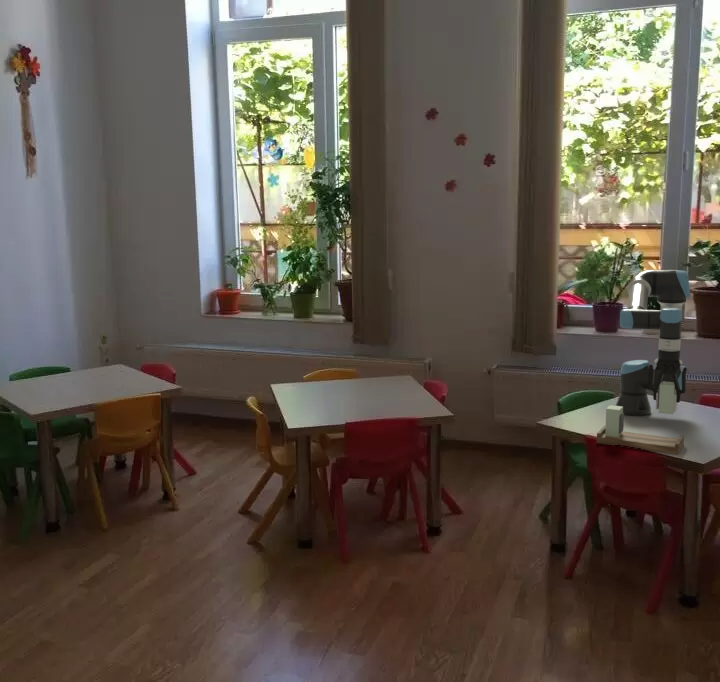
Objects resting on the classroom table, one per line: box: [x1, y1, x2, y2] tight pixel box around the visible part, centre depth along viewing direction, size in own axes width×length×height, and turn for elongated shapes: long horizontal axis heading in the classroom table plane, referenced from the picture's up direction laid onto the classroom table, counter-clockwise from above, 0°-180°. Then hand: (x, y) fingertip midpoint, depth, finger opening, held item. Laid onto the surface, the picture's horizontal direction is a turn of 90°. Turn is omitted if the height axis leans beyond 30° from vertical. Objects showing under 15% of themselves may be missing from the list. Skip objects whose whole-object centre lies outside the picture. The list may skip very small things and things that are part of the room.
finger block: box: [656, 381, 676, 415], centre depth 285 cm, size 6×6×11 cm
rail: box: [596, 425, 685, 455], centre depth 293 cm, size 12×30×4 cm, turn 58°
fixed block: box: [605, 404, 625, 437], centre depth 297 cm, size 6×6×11 cm
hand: (666, 409), depth 286 cm, fingers closed on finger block, 6 cm apart
